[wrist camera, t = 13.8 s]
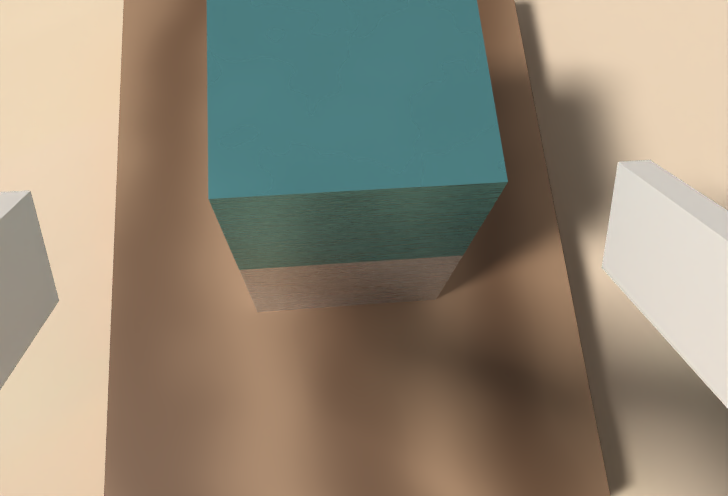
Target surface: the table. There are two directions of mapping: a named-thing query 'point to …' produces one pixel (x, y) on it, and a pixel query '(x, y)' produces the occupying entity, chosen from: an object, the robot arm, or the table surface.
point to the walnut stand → (332, 324)
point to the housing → (349, 146)
